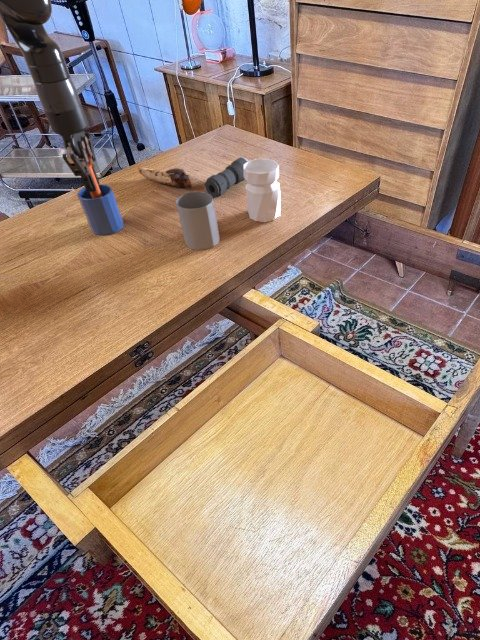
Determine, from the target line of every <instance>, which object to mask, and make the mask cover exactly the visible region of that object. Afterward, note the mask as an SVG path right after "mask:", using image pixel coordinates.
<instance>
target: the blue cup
mask: <svg viewBox="0 0 480 640" xmlns="http://www.w3.org/2000/svg"><path fill="white" fill-rule="evenodd" d="M98 186H99V188H100V191H101V194H102V197H100V198H95V199H92V196H91V194H90V192H88V191H87V190H86V188H85V186H84V187H82V188H81V189H80V190H78V192H77V193H76V195H77V198H78V201H79V204H80V206H81V209H82V211H83V213H84V215H85V218H86V220H87V223H88V225H89V227H90V230H91V232H92V233H93V234H95V235H98V236H110V235H113V234H116V233H118V232H120V231H121V230H123V228H124V226H125V223H124V220H123V217H122V214H121V211H120V208H119V205H118V202H117V200H116V196H115V193H114V191H113V188H112V187H111V186H110V185H108V184H104V183H99V185H98Z"/></svg>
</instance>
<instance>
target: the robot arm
mask: <svg viewBox="0 0 480 640" xmlns="http://www.w3.org/2000/svg"><path fill="white" fill-rule="evenodd" d="M52 12H53V7H52V0H0V17H1V20H2V21H3V23H4V25H5V26H6V28H7V30H8V32H9V33H10V35H11V36H12V39H13V40H14V42H15V44H16V45H17V47H18V48H19V50H20V52H21V54H22V56H23V59H24V62H25V64H26V66H27V69H28V72H29V74H30V77H31V78H32V81H33V84H34V87H35V91H36V95H37V97H38V100H39V102H40V104H41V107H42V109H43V111H44V115H45V116H46V119H47V121H48V124H49V126H50V129H51V131H52V132H53V133H54V134H56V135H59V136H60V137H61V138H62V141H63V146H64V148H65V150H66V153H62V159H63V161H64V162H65V164H66V165H67V166H68V168H69V169H70V171H71V172H72V173H73V175H74V176H75V177H80V178H81V181H82V183H83V186H84V187H85V188H86V190H87V191H88V192H92V191H95V190H96V186H95V184H94V181H93V178H92V176H91V174H90V170H89V167H88V164H90V165H91V167H92V169H93V172H94V175H95V178H96V180H97V183H98V185H99V184H100V180H99V177H98V174H97V172H96V170H95V168H96V166H95V165H96V164H95V162H97V159H96V153H95V149H94V143H93V138H92V134H91V132H90V131H86V130H87V129H88V127H89V122H88V119H87V116H86V113H85V111H84V107H83V104H82V102H81V98H80V97H79V93H78V90H77V88H76V86H75V83H74V82H73V81H74V80H73V79H72V77H71V74H70V72H69V68H68V65H67V62H66V60H65V57H64V54H63V52H62V50H61V47H60V45H59V44H58V43H57V42H56V41H55V40H54V39H53V38H51V37H50V35H49V34H48V33H47V30H46V29H45V26H44V24H46V23H47V22H49V20H50V19H51V16H52ZM85 131H86V132H85ZM83 165H84V167H83Z"/></svg>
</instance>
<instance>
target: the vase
mask: <svg viewBox="0 0 480 640" xmlns="http://www.w3.org/2000/svg"><path fill="white" fill-rule="evenodd" d="M243 172H244V179H245V180H244V181H245V182H247V183H246V184H245V185H244V188H245V193H246V208H247V209H246V210H247V214H248V217H249V219H250V218H251V219H250V220H252V219H253V220H252V221H254V222H256V221H260V222H259V223H268V221H269V222H272V221H271V220H274V221H276V220H277V219H278V218H277V217H279V216H280V217H281V213H282V209H281V208H282V207H281V202H282V201H281V200H282V199H281V198H282V197H281V186H280V185H281V184H280V183H279V181H277V180H278V179H279V178H280V165H279V163H278V162H277V161H276V160H274V159H270V158H255V159H250V160H248V162H246V163H245V164H244V165H243ZM280 217H279V218H280ZM276 218H277V219H276ZM275 219H276V220H275Z"/></svg>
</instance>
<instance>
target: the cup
mask: <svg viewBox="0 0 480 640" xmlns="http://www.w3.org/2000/svg"><path fill="white" fill-rule="evenodd" d="M175 206H176V210H177V214H178V219H179V223H180V227H181V231H182V235H183V239H184V243H185V245H186V247H188V248H190V249H191V250H197V251H202V250H203V251H204V250H205V251H206V250H209V249H212V248H215V247H216V246H217V245H218V244H219V243H220V240H221V237H220V230H219V225H218V219H217V215H216V214H217V213H216V208H215V203H214V197H212V196H211V195H210V194H208V192H207V191H206V192H205V191H197V190H196V191H188V192H186V193H183V194H181V195H180V196H178V197H177V198H176V200H175Z"/></svg>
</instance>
